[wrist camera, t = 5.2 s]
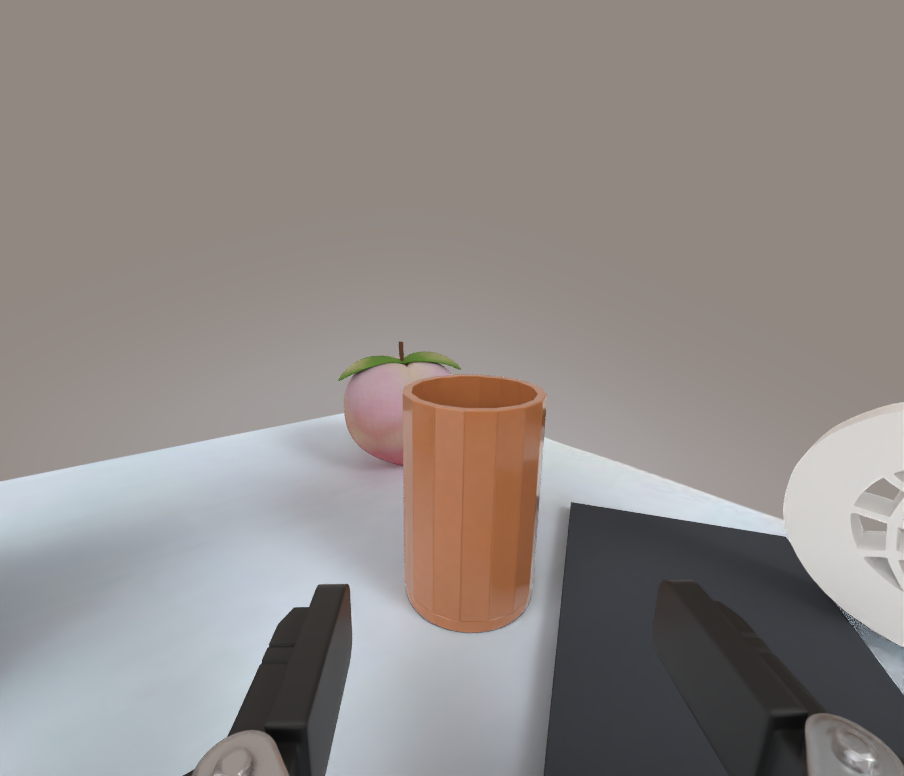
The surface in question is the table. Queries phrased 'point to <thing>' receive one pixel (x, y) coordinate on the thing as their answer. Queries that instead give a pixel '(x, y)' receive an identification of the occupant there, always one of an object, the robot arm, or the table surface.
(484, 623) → the brown mug
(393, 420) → the decorative fruit
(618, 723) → the mat
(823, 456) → the white twin disc part
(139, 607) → the table surface
